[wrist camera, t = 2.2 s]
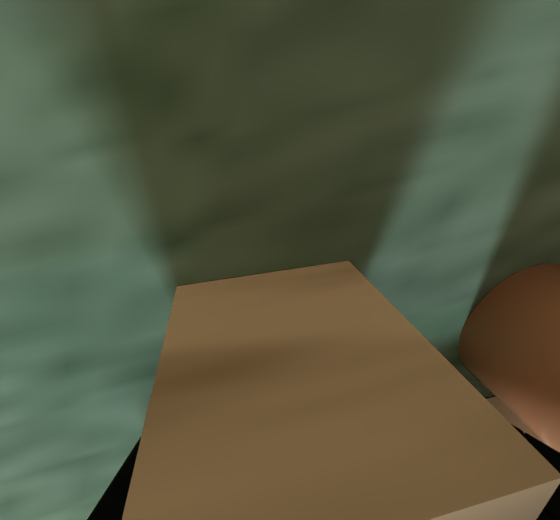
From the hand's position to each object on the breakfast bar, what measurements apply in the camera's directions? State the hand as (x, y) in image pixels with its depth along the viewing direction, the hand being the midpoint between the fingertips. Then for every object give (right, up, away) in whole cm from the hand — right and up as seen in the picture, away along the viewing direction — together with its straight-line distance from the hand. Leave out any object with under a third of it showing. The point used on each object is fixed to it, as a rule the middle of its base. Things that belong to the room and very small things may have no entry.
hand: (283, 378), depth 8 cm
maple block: (0, +1, +1) cm, 2 cm away
